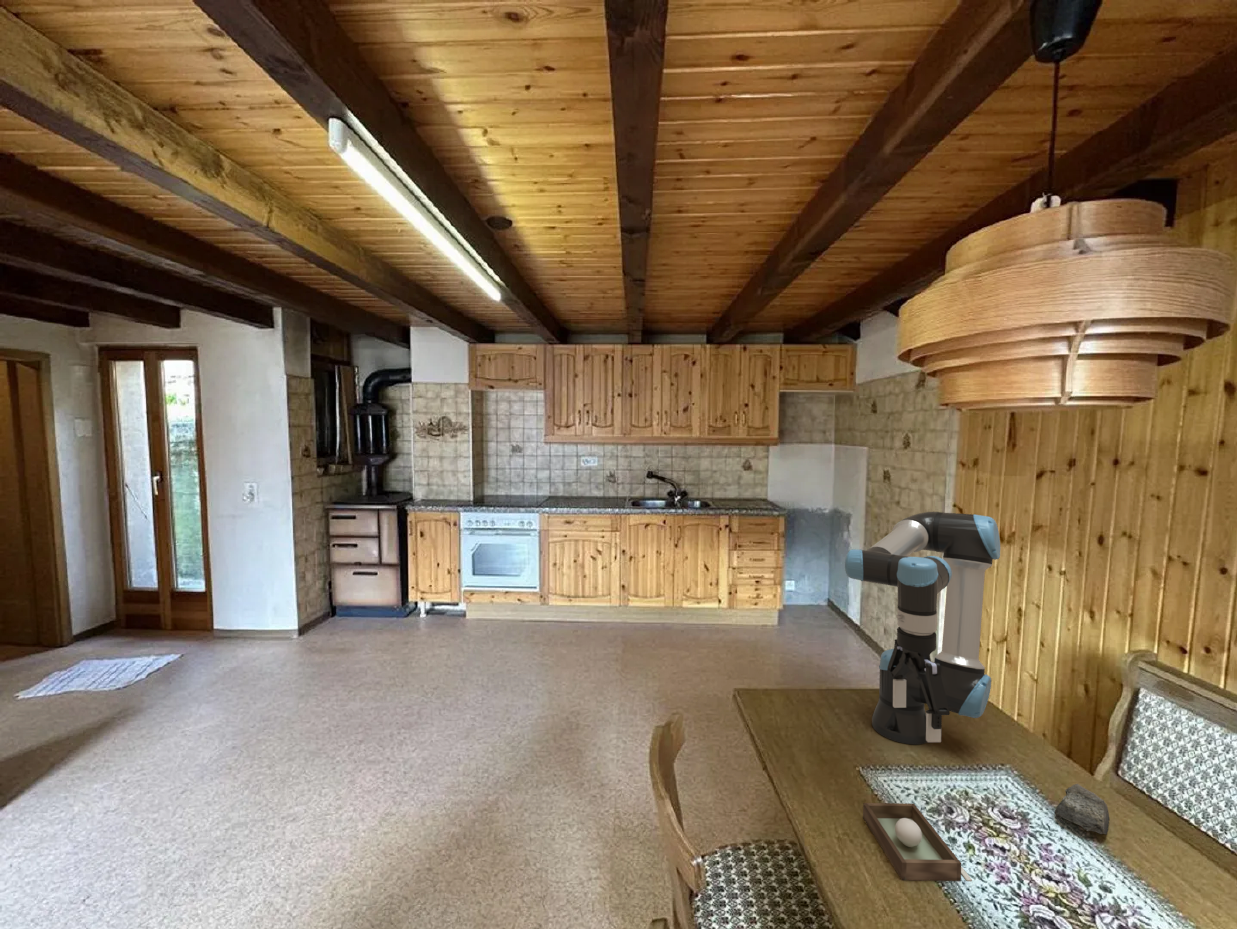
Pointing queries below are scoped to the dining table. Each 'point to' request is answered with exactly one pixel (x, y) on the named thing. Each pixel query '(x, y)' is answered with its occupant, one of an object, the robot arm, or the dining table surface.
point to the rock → (1084, 809)
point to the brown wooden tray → (911, 862)
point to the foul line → (965, 875)
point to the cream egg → (908, 832)
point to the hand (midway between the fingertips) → (915, 723)
